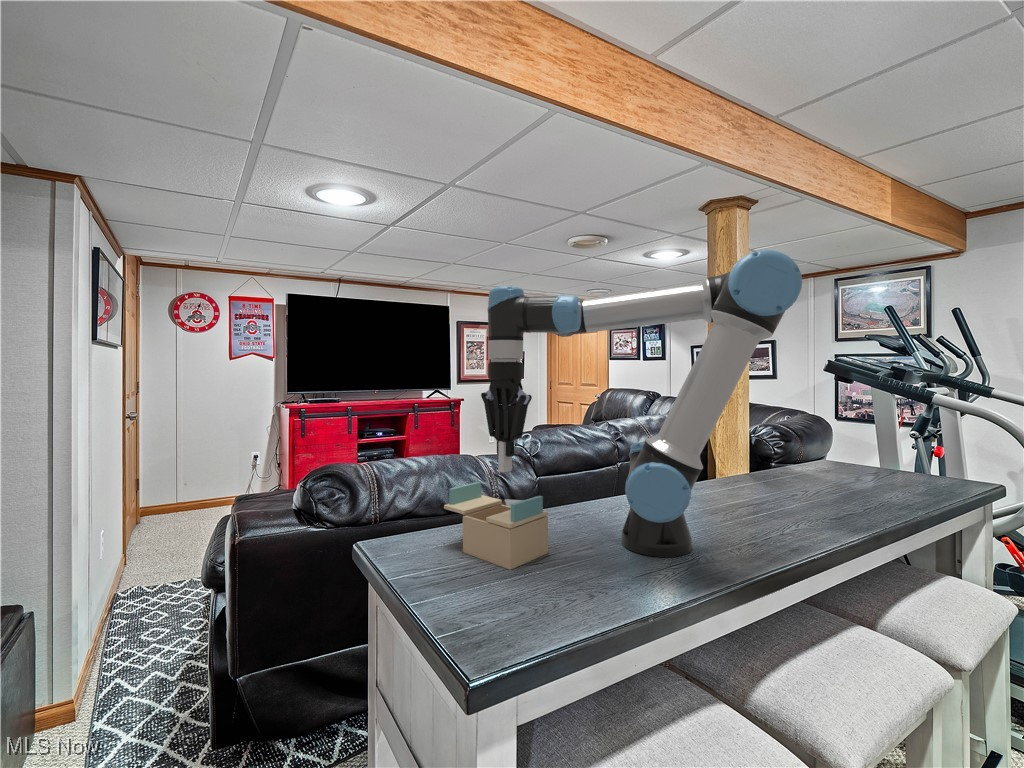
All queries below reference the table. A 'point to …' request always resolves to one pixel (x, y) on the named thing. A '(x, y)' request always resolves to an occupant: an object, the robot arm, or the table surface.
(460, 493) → the lid
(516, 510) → the lid near
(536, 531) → the carton
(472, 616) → the table surface
